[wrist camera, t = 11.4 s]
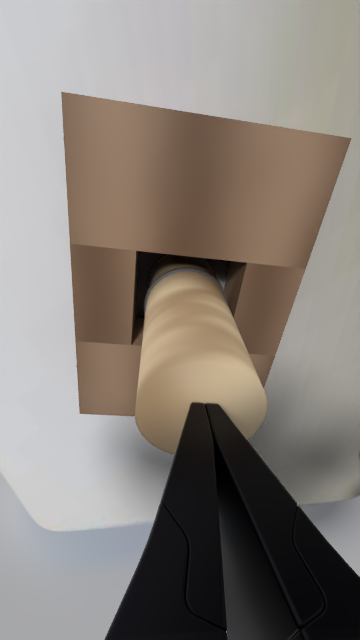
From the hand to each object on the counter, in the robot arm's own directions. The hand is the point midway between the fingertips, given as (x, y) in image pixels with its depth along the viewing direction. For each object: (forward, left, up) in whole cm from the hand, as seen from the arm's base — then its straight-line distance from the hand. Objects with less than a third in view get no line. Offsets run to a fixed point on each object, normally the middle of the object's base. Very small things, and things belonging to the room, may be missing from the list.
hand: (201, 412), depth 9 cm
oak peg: (0, 0, -10) cm, 10 cm away
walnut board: (0, 0, -10) cm, 10 cm away
